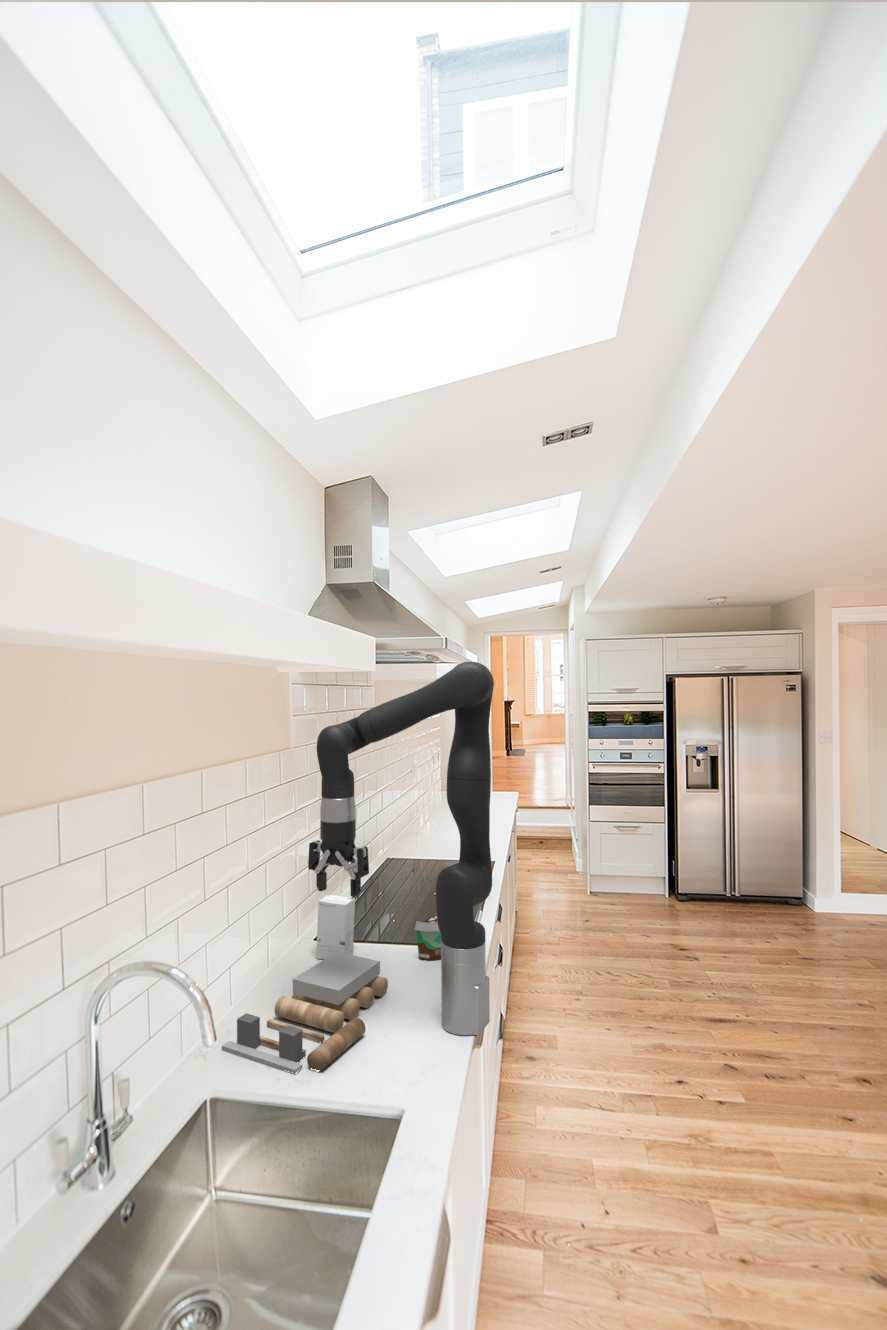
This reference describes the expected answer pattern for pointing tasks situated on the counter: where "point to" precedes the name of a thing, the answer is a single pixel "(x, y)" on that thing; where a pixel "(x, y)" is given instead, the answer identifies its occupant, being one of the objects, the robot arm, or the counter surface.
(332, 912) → the skincare box
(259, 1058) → the bumper posts
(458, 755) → the robot arm
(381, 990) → the roller bed
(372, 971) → the slab
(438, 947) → the food container
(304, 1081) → the counter surface
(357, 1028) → the roller
